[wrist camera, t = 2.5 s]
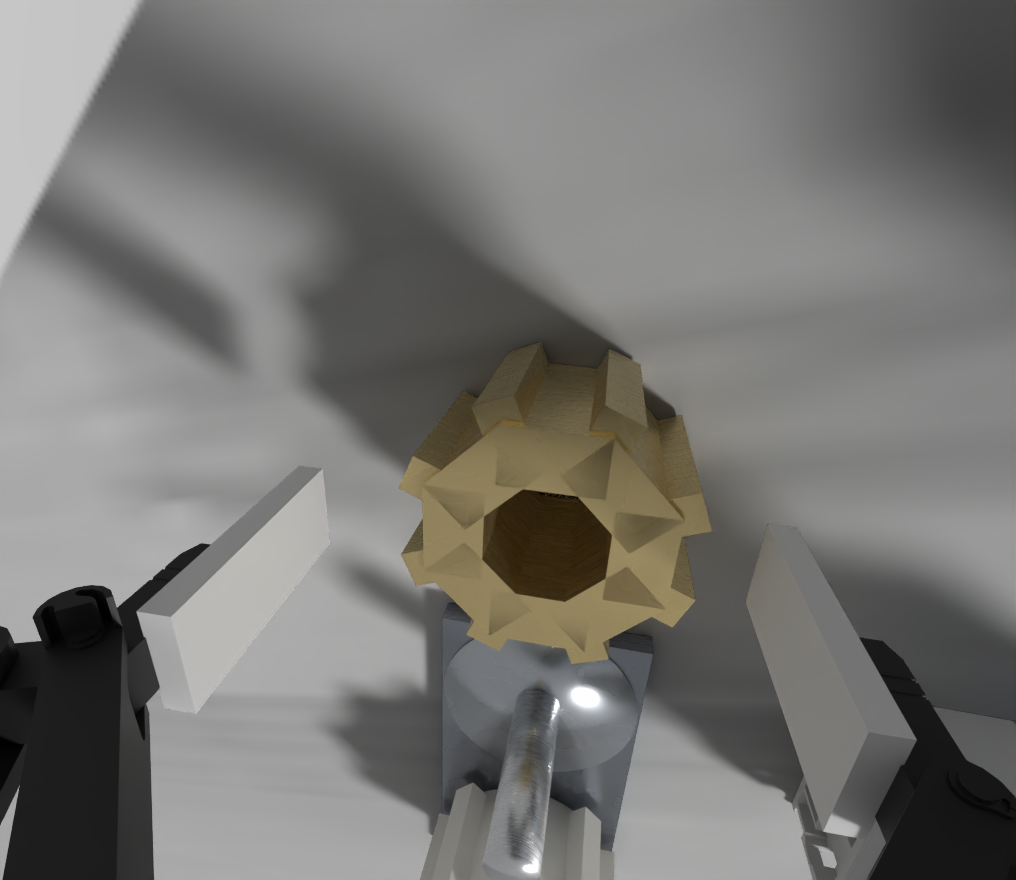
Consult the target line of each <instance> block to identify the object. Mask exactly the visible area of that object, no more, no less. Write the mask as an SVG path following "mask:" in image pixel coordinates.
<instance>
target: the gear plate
mask: <svg viewBox="0 0 1016 880" xmlns="http://www.w3.org/2000/svg"><path fill="white" fill-rule="evenodd" d="M471 619H472V618H471V617H470V616H469V615H468V614H467V613H466V612H465V611H464V610H463V609H462V608H461V607H460V606H459V605H458V604H452V603H448V606H447V608H446V611H445V613H444V615H443V618H442V814H445V815H449V816H450V812H451V808H452V805H453V801H454V797H455V794H456V790H458V789H460V788H462V787H464V786H466V785H469V784H471V783H474V784H475V785H476V786H478V787H479V788H480V789H481V790H482V791H483V792H485V791H489V790H494V789H498V791H497V796H496V801H495V806H494V811H493V815H492V820H491V825H490V830H489V835H488V840H487V845H486V850H485V855H484V860H483V865H482V868H483V871H484V873H485V875H486V876H487V877H488V878H489V879H490V880H540V875H541V866H542V857H543V849H544V840H545V832H546V823H547V815H548V806H549V797H550V798H552V799H554V800H556V801H558V802H560V803H562V804H564V805H565V806H567V807H568V808H570V809H571V810H573V811H575V810H578V809H580V808H583V807H587V808H588V809H589V810H590V811H591V812H592V813H593V814H594V815H595V816H596V817H597V818H598V819H599V820H600V821H601V841H600V849H601V850H606V851H610V852H612V847H613V842H614V838H615V833H616V828H617V823H618V819H619V814H620V809H621V804H622V800H623V795H624V790H625V785H626V781H627V776H628V771H629V766H630V762H631V757H632V752H633V747H634V743H635V738H636V733H637V728H638V724H639V719H640V714H641V709H642V705H643V700H644V695H645V690H646V686H647V681H648V676H649V671H650V667H651V662H652V657H653V646H652V637H649V636H643V635H637V634H631V633H625V632H622V633H620V634H618V635H616V636H614V637H612V638H610V639H609V660H601V661H593V662H585V663H577V664H571V661H570V659H569V656H568V653H567V651H566V649H564V648H558V647H553V646H547V645H541V644H535V643H530V642H524V641H518V640H512V639H507V641H506V642H505V644H504V645H503V647H502V648H501V650H500V651H498V650H496V649H494V648H492V647H490V646H488V645H486V644H484V643H482V642H480V641H478V640H476V639H474V638H472V637H470V636H468V635H466V634H467V631H468V628H469V625H470V622H471Z"/></svg>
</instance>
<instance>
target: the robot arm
mask: <svg viewBox="0 0 1016 880" xmlns="http://www.w3.org/2000/svg"><path fill="white" fill-rule="evenodd" d="M329 544H330V538H329V528H328V518H327V508H326V498H325V488H324V478H323V469H321V468H313V467H305V466H298V467H297V468H296V469H295V470H294V471H293V472H292V473H291V474H290V475H288V476H287V477H286V478H285V479H284V480H283V481H282V482H281V483H279V484H278V485H277V486H276V487H275V488H274V489H273V490H272V491H271V492H269V493H268V494H267V495H266V496H265V497H264V498H263V499H262V500H260V501H259V502H258V503H257V504H256V505H255V506H254V507H253V508H252V509H250V510H249V511H248V512H247V513H246V514H245V515H244V516H243V517H241V518H240V519H239V520H238V521H237V522H236V523H235V524H234V525H232V526H231V527H230V528H229V529H228V530H227V531H226V532H225V533H224V534H222V535H221V536H220V537H219V538H218V539H217V540H216V541H215V542H213V543H212V544H211V545H209V544H203V543H201V544H199V545H197V546H195V547H193V548H191V549H189V550H187V551H185V552H183V553H181V554H180V555H179V556H178V557H176V558H175V559H174V560H173V561H172V562H170V563H169V564H168V565H167V566H166V568H165V570H164V569H162V570H161V571H160V572H159V573H158V574H156V575H155V576H154V577H153V580H149V581H148V582H147V583H146V584H145V585H143V586H142V587H141V588H140V589H139V590H138V591H136V592H135V593H134V594H133V595H132V596H131V597H129V598H128V599H127V600H126V601H125V602H123V603H122V604H121V605H120V606H119V607H118V608H117V607H116V604H115V601H114V598H113V595H112V592H111V590H110V589H108V588H106V587H104V586H94V585H90V586H83V587H77V588H74V589H71V590H68V591H65V592H62V593H60V594H58V595H56V596H54V597H52V598H50V599H49V600H47V601H46V602H45V603H44V604H42V605H41V606H40V607H39V608H38V609H37V610H36V612H35V614H34V616H33V620H34V622H35V625H36V627H37V630H38V632H39V635H40V638H41V640H42V641H37V642H26V643H14V641H13V639H12V637H11V634H10V633H9V631H8V629H7V628H4V627H1V626H0V825H1V822H2V820H3V818H4V816H5V814H6V812H7V810H8V808H9V806H10V804H11V802H12V800H13V798H14V796H15V794H16V792H17V789H18V787H19V785H20V787H19V793H18V798H17V804H16V809H15V815H14V820H13V826H12V831H11V837H10V842H9V848H8V853H7V858H6V864H5V869H4V875H3V880H154V866H153V831H152V796H151V761H150V726H149V712H148V708H147V705H146V703H147V702H148V700H149V699H150V698H151V697H152V696H153V695H154V694H155V693H156V692H157V690H158V689H159V691H160V695H161V698H162V702H163V705H164V708H166V709H172V710H177V711H182V712H188V713H193V714H196V713H197V712H198V711H199V709H200V708H201V707H202V706H203V704H204V703H205V702H206V701H207V699H208V698H209V697H210V695H211V694H212V693H213V692H214V690H215V689H216V688H217V687H218V685H219V684H220V683H221V681H222V680H223V679H224V678H225V676H226V675H227V674H228V673H229V671H230V670H231V669H232V667H233V666H234V665H235V664H236V662H237V661H238V660H239V659H240V657H241V656H242V655H243V653H244V652H245V651H246V650H247V648H248V647H249V646H250V645H251V643H252V642H253V641H254V639H255V638H256V637H257V636H258V634H259V633H260V632H261V631H262V629H263V628H264V627H265V625H266V624H267V623H268V622H269V620H270V619H271V618H272V616H273V615H274V614H275V613H276V611H277V610H278V609H279V608H280V606H281V605H282V604H283V602H284V601H285V600H286V599H287V597H288V596H289V595H290V594H291V592H292V591H293V590H294V588H295V587H296V586H297V585H298V583H299V582H300V581H301V580H302V578H303V577H304V576H305V574H306V573H307V572H308V571H309V569H310V568H311V567H312V566H313V564H314V563H315V562H316V560H317V559H318V558H319V557H320V555H321V554H322V553H323V552H324V550H325V549H326V548H327V546H328V545H329ZM746 605H747V608H748V611H749V614H750V617H751V620H752V623H753V626H754V629H755V632H756V635H757V637H758V640H759V643H760V646H761V649H762V652H763V655H764V658H765V661H766V664H767V667H768V670H769V673H770V676H771V679H772V682H773V685H774V688H775V691H776V694H777V697H778V700H779V703H780V706H781V708H782V711H783V714H784V717H785V720H786V723H787V726H788V729H789V732H790V735H791V738H792V741H793V744H794V747H795V750H796V753H797V756H798V759H799V762H800V765H801V768H802V771H803V774H804V777H805V779H806V782H807V785H808V788H809V791H810V794H811V797H812V800H813V803H814V806H815V809H816V812H817V815H818V818H819V821H820V824H821V827H822V830H823V832H828V833H833V834H838V835H844V836H849V837H854V838H860V839H865V840H866V838H867V836H868V834H869V832H870V830H871V828H872V826H873V825H874V823H875V821H876V820H877V823H878V825H879V827H880V830H881V832H882V834H883V837H884V839H885V841H886V844H885V846H884V847H883V849H882V851H881V853H880V855H879V857H878V859H877V860H876V862H875V864H874V866H873V868H872V870H871V871H870V873H869V875H868V878H867V880H1016V798H1015V796H1014V795H1013V794H1012V793H1011V791H1010V790H1009V789H1008V788H1007V787H1006V786H1005V785H1004V784H1003V783H1002V782H1001V781H1000V780H999V779H997V778H996V777H994V776H993V775H992V774H990V773H989V772H988V771H986V770H985V769H984V768H982V767H979V766H977V765H975V764H973V763H971V762H969V761H967V760H966V758H965V757H964V755H963V754H962V752H961V751H960V749H959V747H958V746H957V744H956V743H955V741H954V739H953V738H952V736H951V735H950V733H949V732H948V730H947V728H946V727H945V725H944V724H943V722H942V721H941V719H940V717H939V716H938V714H937V713H936V711H935V709H934V708H933V706H932V705H931V703H930V702H929V700H926V695H925V694H924V692H923V690H922V689H921V687H920V686H919V684H917V683H916V682H915V680H916V679H915V678H914V676H913V675H912V673H911V672H910V670H909V668H908V667H907V665H906V664H905V662H904V660H903V659H902V658H901V657H899V656H898V655H897V654H896V653H895V652H894V651H893V650H892V649H891V648H889V647H888V646H887V645H886V644H885V643H884V642H883V641H879V640H872V639H865V638H859V637H858V635H857V633H856V631H855V630H854V628H853V626H852V624H851V623H850V621H849V619H848V617H847V615H846V614H845V612H844V610H843V608H842V607H841V605H840V603H839V601H838V600H837V598H836V596H835V594H834V592H833V591H832V589H831V587H830V585H829V584H828V582H827V580H826V578H825V577H824V575H823V573H822V571H821V569H820V568H819V566H818V564H817V562H816V561H815V559H814V557H813V555H812V554H811V552H810V550H809V548H808V546H807V545H806V543H805V541H804V539H803V538H802V536H801V534H800V532H799V531H798V529H797V527H790V526H781V525H773V524H768V525H767V528H766V532H765V535H764V539H763V542H762V546H761V549H760V553H759V556H758V560H757V563H756V567H755V570H754V574H753V577H752V581H751V584H750V588H749V591H748V595H747V598H746Z"/></svg>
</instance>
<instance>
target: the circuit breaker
mask: <svg viewBox="0 0 1016 880" xmlns="http://www.w3.org/2000/svg"><path fill="white" fill-rule="evenodd" d="M933 708H934V709H935V711H936V713H937V714H938V716H939V717H940V719H941V721H942V722H943V724H944V725H945V727H946V728H947V730H948V732H949V733H950V735H951V736H952V738H953V739H954V741H955V743H956V744H957V746H958V747H959V749H960V751H961V752H962V754H963V755H964V757H965V758H966V760H967V761H969V762H971V763H973V764H975V765H977V766H979V767H982V768H984V769H985V770H986V771H988V772H989V773H990V774H992V775H993V776H994V777H996V778H997V779H999V780H1000V781H1001V782H1002V783H1003V784H1004V785H1005V786H1006V787H1007V788H1008V789H1009V790H1010V791H1011V793H1012V794H1013V795H1014V796H1015V798H1016V721H1014V722H1013V721H1011V720H1005V719H1000V718H994V717H989V716H983V715H977V714H972V713H966V712H961V711H955V710H950V709H944V708H938V707H933ZM792 806H793V810H794V812H798V814H799V818H800V821H801V825H802V828H803V832H804V833H803V835H802V837H801V839H802V842H803V846H804V849H805V853H806V857H807V860H808V864H809V867H810V871H811V875H812V878H813V880H867V878H868V875H869V873H870V871H871V870H872V868H873V866H874V864H875V862H876V860H877V859H878V857H879V855H880V853H881V851H882V849H883V847H884V846H885V844H886V841H885V839H884V837H883V834H882V832H881V830H880V827H879V825H878V823H877V820H876V821H875V823H874V825H873V826H872V828H871V830H870V832H869V834H868V836H867V838H866V840H865V839H860V838H854V837H849V836H844V835H838V834H833V833H828V832H823V830H822V827H821V824H820V821H819V818H818V815H817V812H816V809H815V806H814V803H813V800H812V797H811V794H810V791H809V788H808V785H807V782H806V779H805V777H804V776H803V779H802V781H801V783H800V786H799V788H798V790H797V793H796V795H795V797H794V800H793V802H792ZM819 851H822V852H826V853H831V854H834V855H835V859H836V862H837V866H836V867H835V869H834V868H829V867H825V866H824V865H823V862H822V858H821V855H820V852H819Z"/></svg>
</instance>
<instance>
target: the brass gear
mask: <svg viewBox="0 0 1016 880" xmlns="http://www.w3.org/2000/svg"><path fill="white" fill-rule="evenodd" d="M399 489H401V490H403V491H405V492H407V493H409V494H411V495H413V496H415V497H417V498H419V499H421V500H423V519H422V520H421V522H420V524H419V525H418V527H417V529H416V530H415V532H414V534H413V535H412V537H411V539H410V540H409V542H408V544H407V545H406V547H405V549H404V550H403V552H402V554H401V555H402V558H403V560H404V562H405V564H406V566H407V568H408V570H409V572H410V574H411V576H412V578H413V580H414V582H415V584H416V586H417V585H422V584H428V583H433V582H435V583H436V584H438V585H439V586H440V587H441V588H442V589H443V590H444V591H445V592H446V593H447V594H448V595H449V596H450V597H451V598H452V599H453V600H454V601H455V602H456V603H457V604H458V605H459V606H460V607H461V608H462V609H463V610H464V611H465V612H466V613H467V614H468V615H469V616H470V617H471V618H472V619H471V622H470V625H469V628H468V631H467V634H466V635H468V636H470V637H472V638H474V639H476V640H478V641H480V642H482V643H484V644H486V645H488V646H490V647H492V648H494V649H496V650H498V651H500V650H501V648H502V647H503V645H504V644H505V642H506V641H507V639H512V640H518V641H524V642H530V643H535V644H541V645H547V646H553V647H558V648H564V649H566V651H567V653H568V656H569V659H570V661H571V664H577V663H585V662H593V661H601V660H609V639H610V638H612V637H614V636H616V635H618V634H620V633H622V632H624V631H626V630H627V629H629V628H631V627H633V626H635V625H637V624H639V623H641V622H643V621H645V620H647V619H649V618H651V617H653V618H655V619H656V620H658V621H660V622H662V623H664V624H666V625H668V626H670V627H672V628H673V626H674V625H675V624H676V623H677V622H678V621H679V619H680V618H681V617H682V616H683V615H684V614H685V612H686V611H687V610H688V609H689V608H690V606H691V605H692V604H693V603H694V602H695V601H696V599H695V594H694V588H693V583H692V577H691V572H690V567H689V561H688V556H687V550H686V545H685V539H684V537H685V536H690V535H696V534H701V533H707V532H712V529H711V525H710V521H709V517H708V513H707V509H706V505H705V501H704V497H703V493H702V489H701V486H700V482H699V478H698V474H697V471H696V467H695V463H694V460H693V456H692V452H691V448H690V445H689V441H688V437H687V434H686V430H685V426H684V422H683V419H682V415H679V416H675V417H671V418H667V419H663V420H659V421H658V420H657V419H656V417H655V416H654V415H653V414H652V413H651V411H650V410H649V409H648V408H647V407H646V405H645V401H644V392H643V383H642V374H641V365H640V364H638V363H636V362H634V361H632V360H631V359H629V358H627V357H625V356H623V355H621V354H619V353H617V352H615V351H613V350H611V349H609V350H608V352H607V353H606V355H605V357H604V359H603V360H602V362H601V364H600V365H599V367H598V368H593V367H583V366H573V365H563V364H553V363H548V360H547V357H546V354H545V351H544V348H543V345H542V342H540V343H537V344H533V345H530V346H527V347H523V348H520V349H517V350H514V351H510V352H509V353H508V355H507V356H506V358H505V359H504V360H503V362H502V363H501V365H500V366H499V368H498V369H497V371H496V372H495V374H494V375H493V377H492V378H491V380H490V381H489V382H488V384H487V385H486V387H485V388H484V390H483V391H482V393H481V394H480V396H479V397H478V398H476V397H474V396H472V395H470V394H468V393H466V392H464V391H463V392H462V393H461V395H460V396H459V397H458V398H457V400H456V401H455V402H454V404H453V405H452V406H451V407H450V409H449V410H448V411H447V413H446V414H445V415H444V416H443V418H442V419H441V420H440V422H439V423H438V424H437V425H436V427H435V428H434V429H433V431H432V432H431V433H430V434H429V436H428V437H427V438H426V440H425V441H424V442H423V443H422V445H421V446H420V447H419V449H418V450H417V451H416V452H415V454H414V455H413V457H412V459H411V461H410V463H409V466H408V468H407V470H406V472H405V475H404V477H403V479H402V481H401V484H400V486H399ZM538 491H541V492H548V493H556V494H563V495H570V496H578V497H579V499H580V500H573V499H566V498H558V497H551V496H544V495H541V494H540V493H539V492H538Z"/></svg>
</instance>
